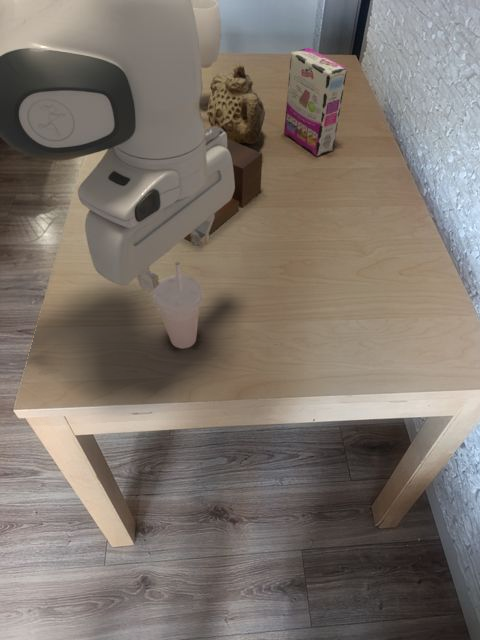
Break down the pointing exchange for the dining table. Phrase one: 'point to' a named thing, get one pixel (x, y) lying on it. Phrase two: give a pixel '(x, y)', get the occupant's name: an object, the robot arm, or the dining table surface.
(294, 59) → the candy bar box
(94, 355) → the dining table surface
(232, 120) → the teapot
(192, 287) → the smoothie
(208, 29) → the white vase
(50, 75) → the robot arm
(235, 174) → the step shelf
